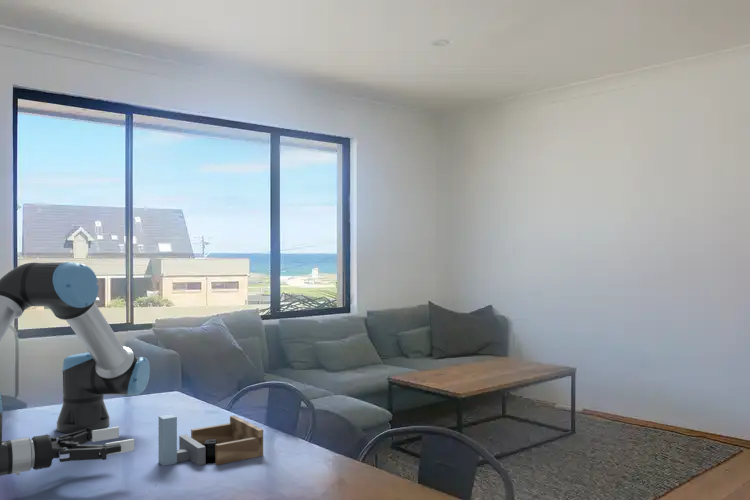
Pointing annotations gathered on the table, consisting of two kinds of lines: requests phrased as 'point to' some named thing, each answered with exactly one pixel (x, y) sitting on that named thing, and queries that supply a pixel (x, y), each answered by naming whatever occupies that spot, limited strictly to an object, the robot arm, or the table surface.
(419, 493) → the table surface
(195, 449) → the block
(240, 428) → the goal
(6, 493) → the table surface
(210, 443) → the black angular piece
